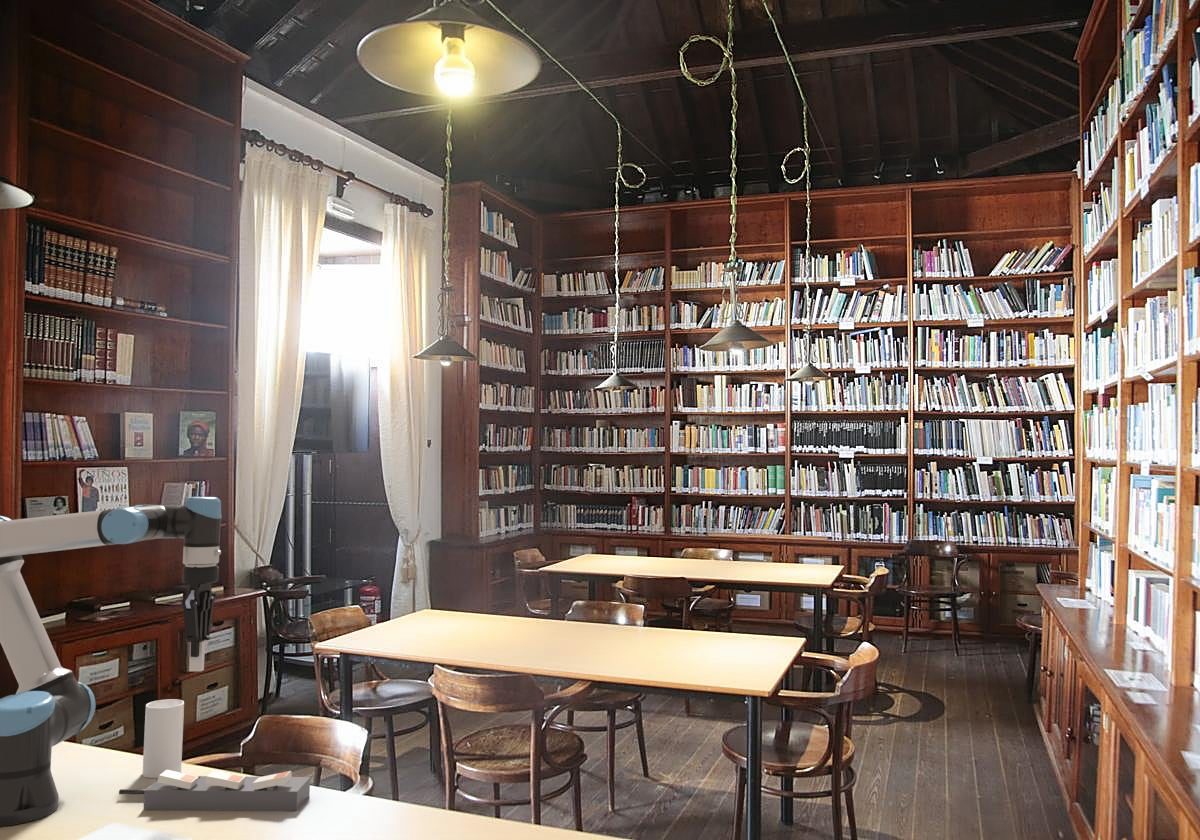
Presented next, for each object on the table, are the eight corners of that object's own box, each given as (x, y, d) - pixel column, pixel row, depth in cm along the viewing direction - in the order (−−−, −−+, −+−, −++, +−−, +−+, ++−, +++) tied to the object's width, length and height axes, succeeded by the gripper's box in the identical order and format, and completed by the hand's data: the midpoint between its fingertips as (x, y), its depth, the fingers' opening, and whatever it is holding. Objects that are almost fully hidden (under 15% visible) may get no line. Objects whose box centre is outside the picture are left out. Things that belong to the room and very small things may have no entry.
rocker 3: (253, 790, 189) (252, 782, 189) (260, 784, 193) (258, 776, 193) (286, 783, 190) (285, 776, 190) (292, 777, 193) (290, 770, 193)
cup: (188, 767, 215) (191, 699, 216) (168, 778, 207) (171, 708, 208) (155, 765, 216) (158, 698, 217) (134, 777, 208) (138, 707, 209)
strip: (104, 809, 188) (106, 787, 188) (126, 794, 197) (127, 773, 197) (296, 810, 189) (297, 789, 189) (309, 795, 198) (310, 774, 198)
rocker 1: (157, 782, 189) (159, 774, 189) (165, 776, 193) (167, 769, 193) (189, 789, 189) (191, 782, 189) (197, 783, 193) (198, 776, 193)
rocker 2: (205, 783, 189) (206, 775, 189) (212, 777, 193) (213, 770, 193) (237, 789, 189) (239, 782, 189) (244, 783, 193) (245, 776, 193)
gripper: (205, 568, 196) (201, 677, 195) (228, 562, 209) (224, 664, 208) (171, 567, 196) (166, 677, 195) (196, 562, 209) (192, 664, 208)
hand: (196, 670), depth 201 cm, fingers closed
